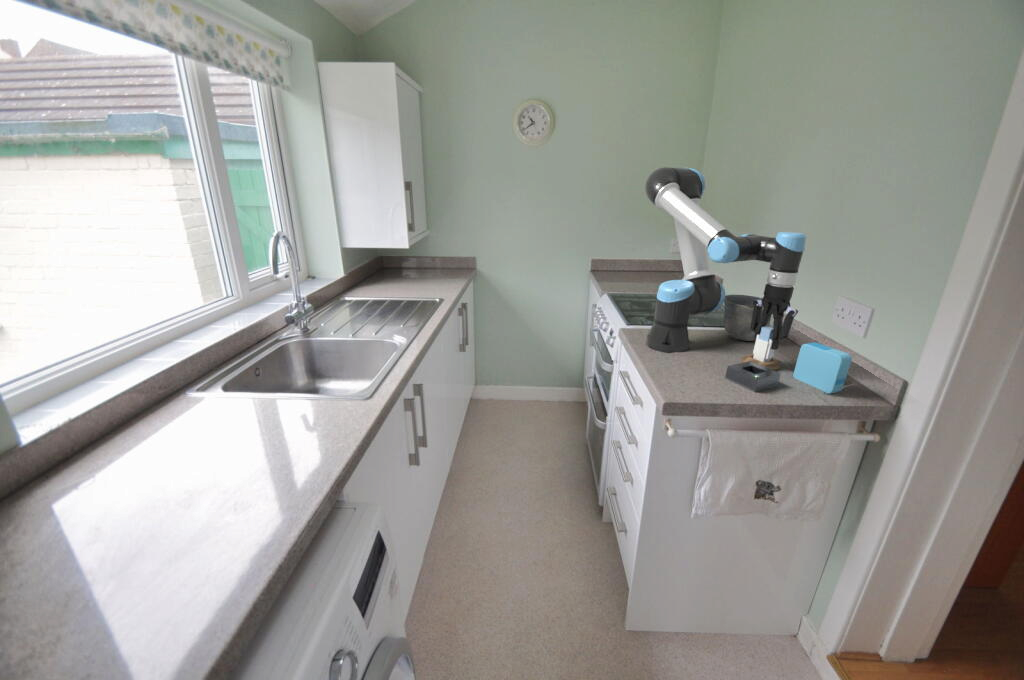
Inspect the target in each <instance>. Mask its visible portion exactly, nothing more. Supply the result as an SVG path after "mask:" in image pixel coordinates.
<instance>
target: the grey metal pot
mask: <svg viewBox="0 0 1024 680" xmlns="http://www.w3.org/2000/svg"><path fill="white" fill-rule="evenodd" d="M762 298H763V297H760V296H759V297H758V296H754V295H745V294H728V295H726V294H725V300H724V303H723V304H724V313H723V319H722V325H723V328H724V330H725V332H726V333H727V334H728V335H729V336H730V337H732V338H734V339H736V340H738V341H743V342H754V337H755V332H754V331H753V330H750V326H751V320H752V314H753V309H754V307H753V301H754V300H762ZM763 309H764V307H763V305H762V311H761V316H762V312H763ZM772 317H773V314H771V315H770V318H769V320H768V322H767V324H766V326H770V324H771V320H772ZM760 318H761V317H760Z"/></svg>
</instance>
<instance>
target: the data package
mask: <svg viewBox="0 0 1024 680" xmlns="http://www.w3.org/2000/svg"><path fill="white" fill-rule="evenodd" d="M852 361H853V358H852V356H851V354H849V353H848V352H845V351H842V350H839V349H836V348H834V347H831V346H827V345H824V344H822V343H819V342H815V341H814V342H810V343H809V342H808V343H802V345H801V346H800V350H799V352H798V356H797V359H796V363H795V368H794V371H793V376H792V377H793V379H795V380H798V381H800V382H802V383H805V384H806V385H809V386H812V387H814V388H815V389H818V390H821V391H823V394H826V395H831V394H834V393H839V392H841V391H842V390H843V388H844V386H845V381H846V379H847V376H848V373H849V370H850V367H851V364H852Z"/></svg>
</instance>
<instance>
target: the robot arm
mask: <svg viewBox="0 0 1024 680" xmlns="http://www.w3.org/2000/svg"><path fill="white" fill-rule="evenodd" d="M644 190H645V194H646V196H647V199H649V201H650V202H651V203H652V204H653V205H654V206H655V207H656V208H658V209H663V210H664V211H666V213H668V214H669V215H670V216H671V217H672V218H673V222H674V226H675V231H676V236H677V237H676V238H677V242H678V243H677V244H678V248H679V253H680V254H679V255H680V259H681V260H680V261H681V263H682V269H683V270H682V271H683V275H684V276H683V277H682V278H681V279H672V280H667V281H664V282H662V283H661V284H660V285H659V287H658V291H657V294H656V302H655V309H654V310H655V311H654V317H653V318H654V319H653V322H652V326H651V327H650V329H649V332H648V334H647V335H646V339H645V344H646V346H647V347H649V348H651V349H653V350H655V351H659V352H664V353H672V354H674V353H682V352H687V351H689V350H690V347H691V341H690V338H689V330H688V326H689V320H690V317H693V316H694V317H695V316H699V315H708V314H710V313H715V312H717V311H718V310H719V309H720V308H721V307H722V305H723V304H724V300H725V296H726V290H725V288H724V286H723V284H722V283H720V282H719V281H717V280H716V279H717V278H716V274H715V273H713V272H712V271H710V267H709V262H708V261H709V260H708V256H709V259H710V260H711V261H712V262H714V263H717V264H729V263H736V262H738V263H739V262H747V261H758V262H765V263H769V268H768V269H769V270H768V274H767V278H766V284H765V286H764V289H763V290H764V291H763V297H761V298H762V300H754V301H753V307H754V309H753V314H752V320H751V326H750V330H753V331H754V332H755V337H754V341H753V343H754V347H753V351H752V354H754V352H755V348H756V344H757V339H759V337H760V333H761V329H762V327H765V326H766V324H767V322H768V320H769V318H770V315H771V314H772V318H773V324H772V325H773V326H772V327H773V338H771V339H770V340H769V344H768V348H767V352H766V356H765V358H766V359H769V358H774V354H775V351H776V350H777V349H778V348H779V344H780V341H783V340H787V339H788V337H789V334H790V332H791V327H792V325H793V322H794V320H795V317H796V316H797V314H798V312H799V310H798V309H795V308H793V307H791V299H792V297H793V294H794V293H793V292H794V290H795V288H794V287H793V286H796V282H797V277H798V273H799V269H800V265H801V261H802V259H803V258H802V257H803V254H804V251H805V247H806V241H807V236H806V235H805V234H804V233H802V232H793V231H779V232H778V233H777V235H776V237H770V236H765V235H758V234H756V233H755V234H753V233H752V234H750V233H748V234H747V233H745V234H742V235H740V236H736V235H734V233H732V232H730V230H728V228H726V227H724V225H723V224H721V223H720V222H719V221H717V220H716V219H715V218H714V217H713V216H711V215H710V214H709V213H708V212H707V211H705V210H704V209H703V208H701V206H699V205H700V204H701V202H702V196H703V195H704V191H705V190H706V179H705V177H704V175H703V174H702V173H701V171H700V170H697V169H696V168H690V167H670V166H669V167H668V166H667V167H666V166H665V167H660V168H657V169H655V170H653V172H651V173H650V175H649V176H648V177H647V179H646V181H645V188H644ZM706 248H707V251H706ZM707 254H708V255H707ZM762 305H763V307H764V309H763V312H762V316H761V311H762ZM785 314H786V315H785ZM760 317H761V318H760ZM783 319H784V320H783Z"/></svg>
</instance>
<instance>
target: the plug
mask: <svg viewBox="0 0 1024 680" xmlns="http://www.w3.org/2000/svg"><path fill="white" fill-rule="evenodd" d="M771 338H773V326H770V325H769V326H765V327H762V329H761V333H760V337H759V339H757V344H756V348H755V352H754V356H753V358H754V359H756V360H759V361H761V362H764V363H765V362H769V361H771V358H769V359H766V358H765V356H766V352H767V348H768V344H769V340H770V339H771Z"/></svg>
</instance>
